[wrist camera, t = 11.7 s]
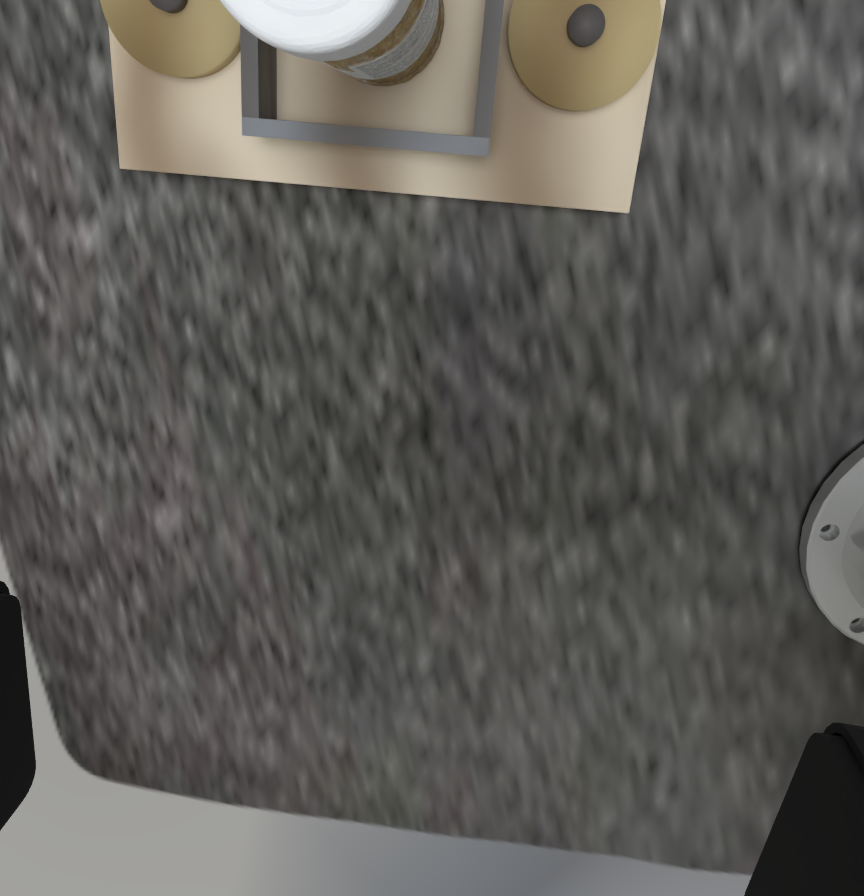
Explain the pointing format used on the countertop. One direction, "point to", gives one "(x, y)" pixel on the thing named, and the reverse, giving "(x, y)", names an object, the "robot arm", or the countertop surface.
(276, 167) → the board
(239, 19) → the sprinkles bottle
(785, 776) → the countertop surface
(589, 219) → the countertop surface
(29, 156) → the countertop surface
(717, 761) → the countertop surface
